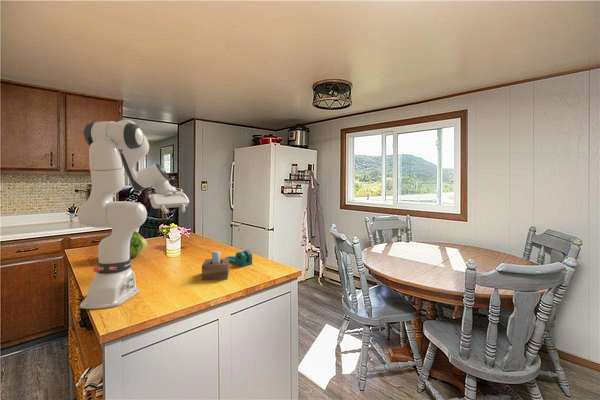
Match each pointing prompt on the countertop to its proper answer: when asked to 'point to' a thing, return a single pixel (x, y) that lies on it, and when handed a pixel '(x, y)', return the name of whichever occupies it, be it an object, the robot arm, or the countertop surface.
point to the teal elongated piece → (241, 258)
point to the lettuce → (136, 244)
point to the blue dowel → (216, 257)
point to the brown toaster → (215, 270)
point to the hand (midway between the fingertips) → (176, 212)
